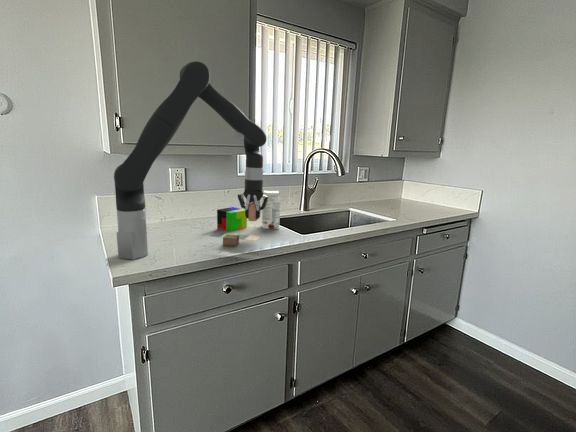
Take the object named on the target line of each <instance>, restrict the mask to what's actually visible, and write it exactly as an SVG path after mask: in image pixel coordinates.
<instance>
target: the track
mask: <svg viewBox="0 0 576 432" xmlns="http://www.w3.org/2000/svg"><path fill="white" fill-rule="evenodd" d="M227 234H232V235H239V240H246V241H254V242H255V241H256V242H257V241H258V240H259V239H260V238H261V237H262V236H258V235H250V234H249V235H248V234H238V233H227V232H217V231H215V232H213V233H212V234H209V237H214V238H215V237H216V238H223V237H224V236H226V235H227Z"/></svg>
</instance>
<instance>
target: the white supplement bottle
mask: <svg viewBox="0 0 576 432" xmlns="http://www.w3.org/2000/svg"><path fill="white" fill-rule="evenodd" d="M263 195H265V196H269V200H268V202H267V204H266V207H265V209H263V210H261V211H262V212H261V213H262V215H261V225H262V228H263V229H264V230H265V229H266V230H267V229H270V230H272V229H273V230H276V229H277V230H278V229H279V227H280V218H281V217H280V216H281V215H280V211H281V195H280V192H279V190H263ZM261 199H262V202H263V201H264V200H263V197H262V198H261Z"/></svg>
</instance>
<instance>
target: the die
mask: <svg viewBox="0 0 576 432" xmlns="http://www.w3.org/2000/svg"><path fill="white" fill-rule="evenodd" d="M232 234H233V233H230V234H227V235H226V236H224V237H222V246H223V247H226V248H236V247H237V246H238V245H240V239H239V235H238V234H237V235H232Z"/></svg>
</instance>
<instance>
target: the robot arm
mask: <svg viewBox="0 0 576 432" xmlns="http://www.w3.org/2000/svg"><path fill="white" fill-rule="evenodd" d="M210 81H211V71H210V69H209V67H208V66H207V65H206V64H205V63H203V62H201V61H196V60H195V61H191V62H188V63H187V64H185V65H184V66H183V67H182V68H181V69H180V71H179V80H178V82H177V84H176V85H175V88H174V89H173V91H172V92H171V93H170V94H169V95H168V96H167V97H166V98H165V99H164V100H163V101H162V102H161V103H160V105H158V106H157V108H156V109H155V110H154V112H153V113H152V115H151V116H150V118H149V119H148V121H147V122H146V124H145V126H144V128H143V129H142V131H141V134H140V136H139V137H138V140H137V142H136V145H135V147H133V150H132V151H131V153H130V154H128V157H126V159H125V160H124V161H123V162H122V163H121V164H119V165H118V166H117V167H116V168H115V170H114V174H113V180H114V188H115V189H114V190H115V191H114V192H115V205H116V217H117V218H116V219H117V230H118V231H117V232H116V241H117V243H116V244H117V245H116V246H117V253H118V254H117V256H118V258H119V259H125V260H135V259H141V258H144V257H146V256H148V255H149V247H148V245H149V244H148V231H147V216H146V215H147V212H146V199H145V198H146V197H145V188H144V185H145V183H144V182H145V180H146V178H147V175H148V174H149V171H150V170H151V168H152V166H153V164H154V162H155V161H156V159H157V158H158V157H159V156H160V154H161V153H162V152H163V151H164V149H166V147H167V146H168V144H170V141H171V140H172V139H173V137H174V136H175V134H176V133H177V131H178V130H179V128H180V127H181V125H182V123H183V121H184V119H185V118H186V116H187V114H188V112H189V110H190V109H191V106H192V105H193V104H194V103H195V101H196V100H197V99H198V98H199V99H201V100H202V101H203V102H204V103H206V104H207V105H208V106H209V107H210V108H211V109H212V110H214V112H216V114H218V115H219V116H220V117H221V118H222V119H223V120H224V121H225V122H226V124H228V125H229V126H230V127H231V128H232V129H233V130H234V131H236V132H237V133H239V134H242V136H243V146H244V152H245V170H244V190H243V193H238V194H237V198H238V201H239V205H240V207H241V209H244V210H245V216H246V218H247V219H248V214H249V206H250V204H251V203H255V206H256V209H257V211H256V219H257V220H259V219H260V217H261V211H262V210H263V209H265V207H266V204H267V202H268V200H269V196H265V195H263V193H264V190H263V187H264V186H263V183H264V182H263V181H264V171H263V170H264V169H263V167H264V157H263V154H262V153H261V152H260V148H261V147H263V146H264V145H266V142H267V138H268V137H267V134H266V132H265V131H264V129H262V128H261V127H260V126H259V125H258V124H257V123H255V122H254V121H252V120H250V119H249V118H248V117H247V115H245V113H244V112H243V111H241V109H240V108H239V107H238V106H237V105H235V103H233V102H232V101H230V100H229V99H228V98H226V97H225V96H224V95H223V94H222V93H220V92H219V91H218V90H217V89H216V88H215V87H214V86H213V85H212V84H211V83H210ZM262 197H263V198H262ZM244 198H245V199H246V201H245V199H244ZM261 199H262V203H261ZM263 200H264V201H263Z"/></svg>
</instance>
